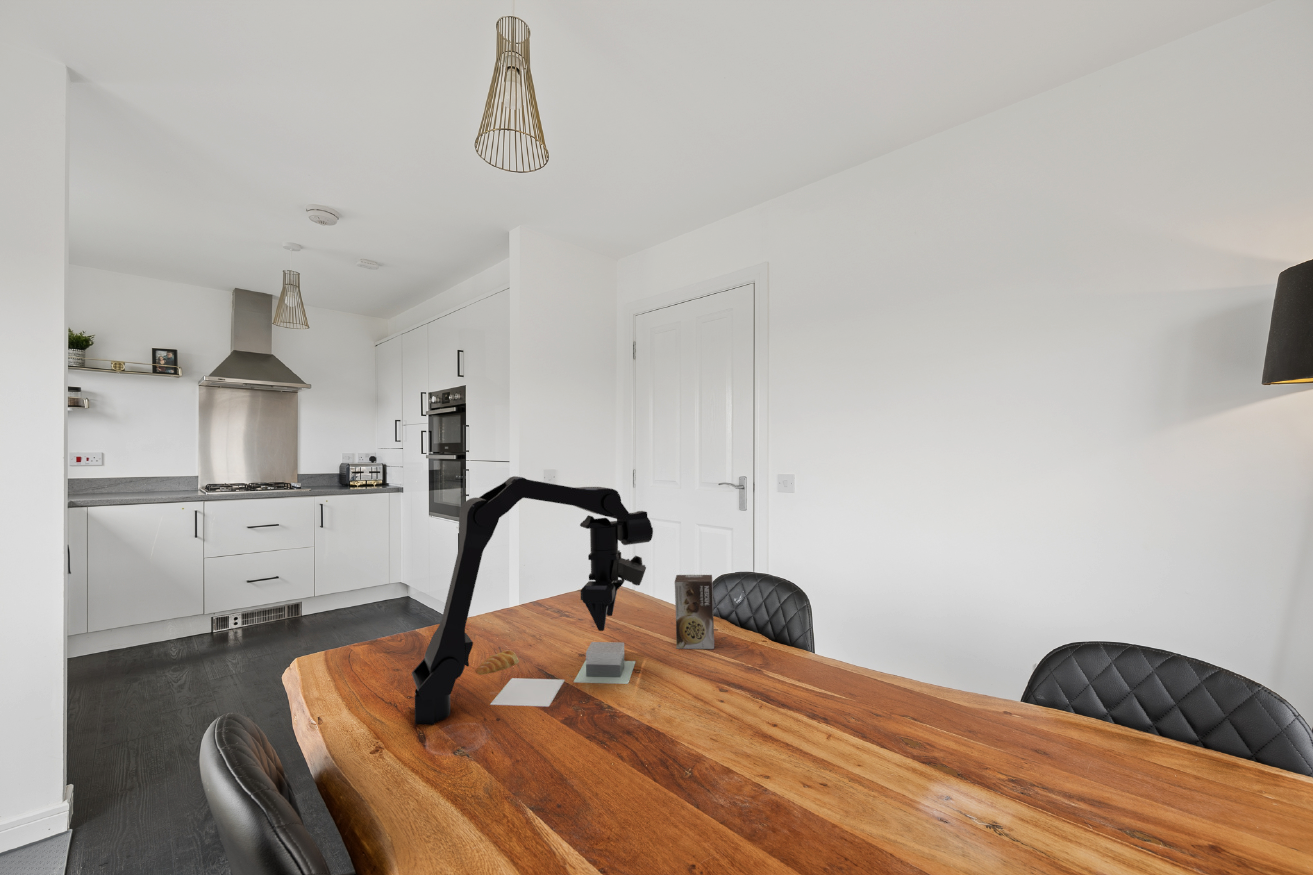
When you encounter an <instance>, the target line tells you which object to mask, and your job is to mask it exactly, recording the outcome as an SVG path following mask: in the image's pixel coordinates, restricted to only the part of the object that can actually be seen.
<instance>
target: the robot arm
mask: <svg viewBox="0 0 1313 875" xmlns="http://www.w3.org/2000/svg"><path fill="white" fill-rule="evenodd" d="M621 498H622V497H621V495H620V493H619V491H618V490H616V489H613V488H611V487H610V488H609V487H602V486H581V487H580V486H578V487H572V486H568V485H567V486H565V485H561V484H555V483H548V482H544V481H537V480H532V479H527V478H526V477H522V476H510V477H508V478H507V479H506V480H505V481H504V482H502V483H501V484H499V485H497V486H496V487H494V488H492V489H490V490H488V491H486V492H485V493H483V494H482V495H480V496H479V497H471V498H469V499H467V500H466V501H464V502H463V503H462V505H461V506H460V508H459V517H458V536H459V537H458V539H459V540H458V541H459V545H458V551H457V554H456V559H455V563H454V567H453V571H452V575H451V579H450V584H449V588H448V593H447V596H446V600H445V605H444V609H443V612H442V617H441V621H440V623H439V625H438V626H437V628H436V630H434V633H433V635H432V637H431V639H430V640H429V644H428V646H427V647H426V648H427V649H426V650H425V653H424V658H423V659H422V660H420V662H419V664H418V665H416V667H415V668H414V669H413V670H412V672H411V676H412V680H413V681H414V684H415V686H416V689H415V690H414V725H417V726H418V725H419V726H434V725H435V724H436V723H439V722H443V721H444V720H446V719H447V718H449V716H450V715H451V694H452V692H453V689H454V685H455V683H456V680H457V679H458V678H461V676H462V675H463V673H464V670H465V667H469V666H470V662H469V657H470V653H471V652H472V649H473V646H474V642H473V640H472V639H471V637H470V636H469V635H468V634H467V632H466V624H467V621H468V616H469V614H470V613H469V612H470V608H471V604H472V599H473V596H474V591H475V587H476V583H477V579H478V573H479V569H480V565H481V562H482V557H483V553H484V550H485V548H486V547H487V545H488V543H489V542H490V540H491V539H492V537H493V536H494V533H495V530H496V528H497V526H498V523H499V520H500V519H501V518H502V517H503V516H504V515H505V514H507V513H509V511H510V510H511V509H512V508H513V507H514V506H515V505H516V504H518V502H519V501H521V500H522V499H528V500H529V499H530V500H534V501H535V500H537V501H543V502H548V503H555V504H561V505H568V506H574V507H576V508H578V509H580V510H584V511H585V512H586V511H587V512H590V513H592V514H595V515H598V516H602V517H598V518H594V516H592V515H590V514H589V515H587V516H586V518H585V519H584V520H583V521H582V522H581V523H580V524H579V527H580V528H585V529H587V530H588V529H589V531H590V532H589V534H590V535H589V536H590V538H589V541H590V543H589V544H590V552H589V553H588V561H590V573H589V575H588V582H587V583H585V585H584V586H583V587H582V588H581V589H580V590H579V591H580V601H582V604H583V603H584V604H585V606H586V608H587V610H588V612H589V614H590V616H591V618H592V620H593V622H594V624H595V626H596V628H597V630H598V632H599V631H600V632H603V631H605V628H606V621H607V617H612V616H613V613H614V609H615V603H616V599H617V594H618V590H619V589H620V587H622V586H623V584H624V583H625V582H629V583H632V585H635V586H640V585H641V583H642V582H643V581H642V580H643V578H644V575H645V573H646V569H647V566H646V565H645V564H643V558H642V557H641V556H638V555H635V556H633V558H631V559H629V558H627V559H626V558H624V557H623V558H622V552H621V550H620V549H619V542H620V543H621V544H622V545H623V546H628V545H629V546H630V545H637V544H643V543H650V542H651V541H652V539H653V535H654V527H652V522H651V521H650V518H649V517H648V512H647V511H645V510H638V511H636V512H629V511H628V509H627V508H626V507H625V506H624V504H623V503H622V499H621ZM603 516H604V517H603ZM607 517H608V518H607ZM609 518H613V519H615V520H612V521H611V520H610V519H609Z"/></svg>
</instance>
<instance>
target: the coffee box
mask: <svg viewBox="0 0 1313 875" xmlns="http://www.w3.org/2000/svg"><path fill="white" fill-rule="evenodd" d="M713 588H714V587H713V575H712V574H677V575H676V576H675V579H674V600H675V602H674V603H675V605H674V606H675V633H676V635H675V638H676V639H675V640H676V642H675V644H676V647H675V648H676V649H677V650H679V649H680V650H681V649H684V650H688V649H689V650H690V649H691V650H695V649H696V650H715V626H714V625H715V624H714V620H715V618H714V594H713V593H714V590H713Z"/></svg>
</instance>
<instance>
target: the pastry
mask: <svg viewBox="0 0 1313 875" xmlns="http://www.w3.org/2000/svg"><path fill="white" fill-rule="evenodd" d="M519 662H520V661H519V658H518V656H517V654H516V653H515V652H514V651H513V650H511V649H507V650H502V651H501V652H499V653H496V654H493V655H490V656H488V658H486V660H485V661H483V662H482V663H481V664H479V666H477V668H475V670H474V672H475V673H476V674H478V675H480V676H481V675H488V674H489V675H490V674H494V673H498V672H499V671H504V670H507V669H509V668H510V667H513V666H515V665H517V664H518V663H519Z"/></svg>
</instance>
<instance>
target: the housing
mask: <svg viewBox="0 0 1313 875" xmlns="http://www.w3.org/2000/svg"><path fill="white" fill-rule="evenodd" d="M585 660H586V677H621V674H622V672H623V669H624V661H625V642H617V641H616V642H614V641H613V642H612V641H611V642H610V641H609V642H608V641H591V642H590V644H589V646H588V648H587V649H586V651H585Z"/></svg>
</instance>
